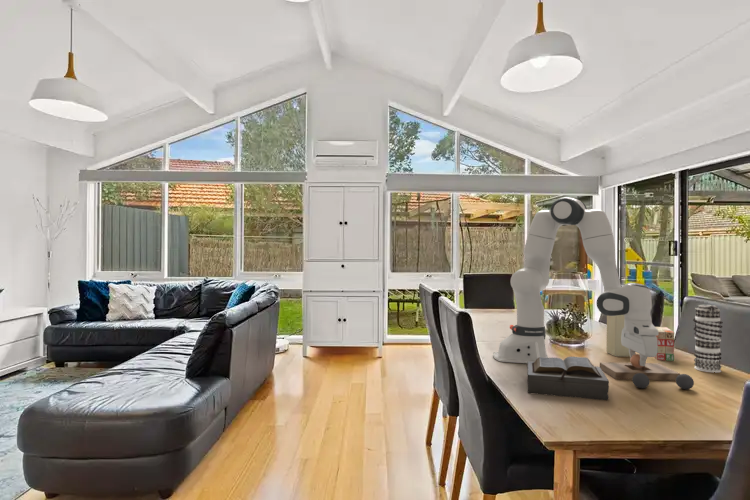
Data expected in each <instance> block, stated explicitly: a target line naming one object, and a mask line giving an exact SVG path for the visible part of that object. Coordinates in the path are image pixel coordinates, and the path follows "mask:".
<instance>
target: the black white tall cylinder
mask: <svg viewBox="0 0 750 500" xmlns="http://www.w3.org/2000/svg"><path fill="white" fill-rule="evenodd" d="M694 309H695V316H694V318H693V319H692V321H693V322H694V323H693V331H695V332H694V333H693V336H694V339H695V346H694V347H695V349H694V351H693V353H694V357H695V358H694V359H693V361H694V363H693V365H694V370H697V371H699V372H704V373H705V372H706V373H714V372H715V373H717V374H718V373H722V370H721V369H722V361H721V360H722V357H721V356H722V353H721V347H720V346H721V342H722V339H721V338H722V333H723V331H722V330H721V329H722V328H723V325H722V324H723V321H722V320H721V314H720V313H721V309H719V308H718V306H717V305H714V304H697V306H696V307H695V308H694Z"/></svg>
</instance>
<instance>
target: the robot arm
mask: <svg viewBox="0 0 750 500" xmlns="http://www.w3.org/2000/svg"><path fill="white" fill-rule="evenodd" d="M565 226H576V227H577V228H578V229H579V231H580V236H581V240H582V245H583V248H584V251H585V253H586V255H587V258H589V259H590V260H591V261H593V262H594V264H595V266H597V268H598V271H599V273H600V277H601V278H600V279H601V281H602V286H603V292H602V293H600V294H599V296H598V297H597V299H596V307H597V309H598V311H599V312H600V314H603V315H605V316H606V317H607V316H616V315H624V328H623V329H622V334H621V344H622V346H625V347H627V348H629V354H630V356H629V358H630V359H631V357H632V356H633V355H635V354H639V355H640V360H638V362H639V363H638V364H639V365H640V366H645V361H646V362H647V360H648V358H655V356H656V355H657V346H658V341H657V337H656V336H657V335H658V329H657V328H656V327H657V326H655V325H654V324H653V321H652V315H651V311H652V309H653V304H652V300H653V299H652V291H651V289H650V288H649V287H648V285H645V284H642V283H636V282H627V283H626V284H624V285H622V284H621V280H620V275H619V271H618V267H617V263H616V246H615V239H614V238H615V237H614V233H613V230H612V225H611V223H610V219H609V218H608V216H607V214H606V212H605V211H603V210H602V209H596V208H594V209H593V208H592V209H588V208H587V206H586V204H585V203H584V202H583V201H582V200H579V199H577V198H575V197H568V196H564V197H560V198H558V199H556V200H554V202H553V203H552V205H551V207H550V210H548V209H542V210H538V211H537V212H536V213H535V214H534V217H533V218H532V220H531V223H530V226H529V228H528V233H527V236H526V241H525V245H524V249H523V255H524V262H523V263H524V266H523V268H522V267H521V268H519V269H518V270H516V271H515V272H514V273H513V274H512V275H511V277H510V286H511V288H512V291H513V294H514V297H515V298H514V299H515V304H516V324H515V325H514V324H510V325H509V329H510V330H511V334H509V335H508V336H507V337H505V338H504V339H502V340H501V341H500V343H499V346H498V350H497V351H495V352H493V355H492V357H493V358H494V359H495V360H496V361H498V362H503V363H518V364H527V362H535V361H536V359H537V358H539V357H544V358H549V356H548V354H547V348H546V334H547V333H546V326H545V307H544V304H543V301H542V300H543V299H542V297H541V292H542V291H544V290H545V289H546V288H547V286H548V285H549V283H550V270H551V269H550V266H551V258H552V257H551V256H552V253H553V249H554V246H555V242H556V238H557V234H558V231H559V228H560V227H565Z"/></svg>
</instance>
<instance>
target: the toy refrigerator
mask: <svg viewBox="0 0 750 500" xmlns="http://www.w3.org/2000/svg"><path fill="white" fill-rule="evenodd" d="M623 328H624V315H616V316H607V315H606V353H608V354H609V355H612V356H614V357H630V354H629V348H627V347H625V346H622V344H621V334H622V329H623Z"/></svg>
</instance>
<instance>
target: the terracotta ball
mask: <svg viewBox="0 0 750 500" xmlns="http://www.w3.org/2000/svg"><path fill="white" fill-rule="evenodd" d="M638 360H640V354H639V353H636V354H635V355H633V356H632V357H631V359H630V360H629V363H631V364H632V365H633V366H634V367H636V368H642V367H643V366H640V365H639V364H638V363H639V362H638ZM646 363H647V360H646V361H645V364H646Z"/></svg>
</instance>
